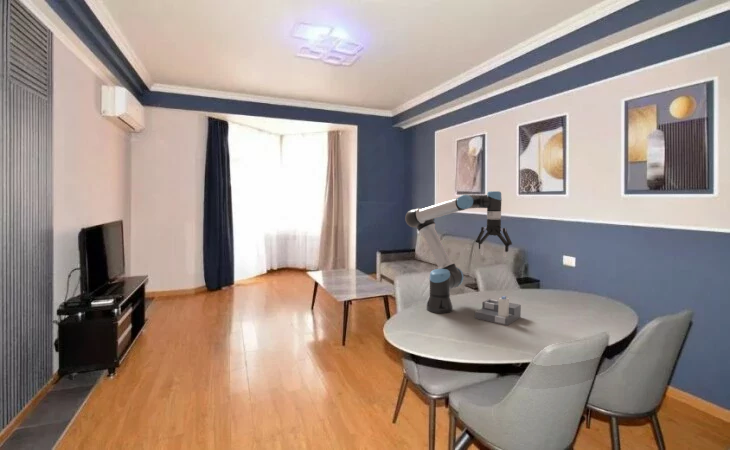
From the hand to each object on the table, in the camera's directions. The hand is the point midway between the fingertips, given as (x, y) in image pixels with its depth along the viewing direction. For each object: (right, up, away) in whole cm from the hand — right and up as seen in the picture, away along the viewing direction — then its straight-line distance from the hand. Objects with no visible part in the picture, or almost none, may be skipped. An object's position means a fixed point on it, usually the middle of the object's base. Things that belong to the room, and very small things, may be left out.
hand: (493, 256), depth 211 cm
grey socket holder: (0, -33, -6) cm, 34 cm away
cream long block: (+1, -33, -13) cm, 36 cm away
